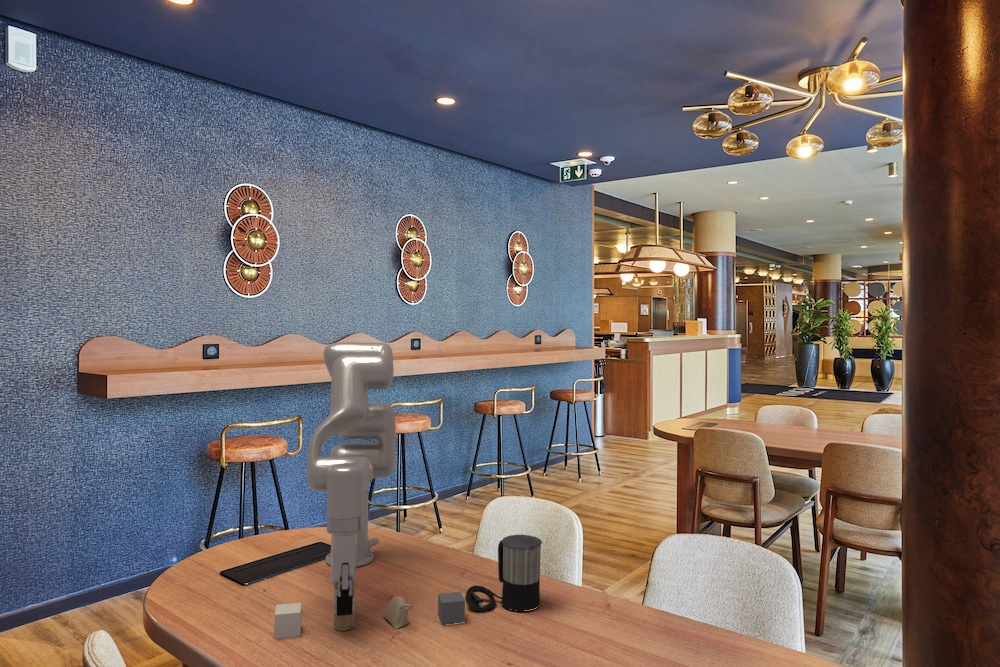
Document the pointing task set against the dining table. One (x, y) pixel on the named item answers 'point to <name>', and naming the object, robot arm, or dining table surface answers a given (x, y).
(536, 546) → the milk frother
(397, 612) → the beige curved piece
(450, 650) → the dining table surface
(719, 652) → the dining table surface
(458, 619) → the charcoal block
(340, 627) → the sprinkles bottle
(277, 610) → the off-white block
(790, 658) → the dining table surface
